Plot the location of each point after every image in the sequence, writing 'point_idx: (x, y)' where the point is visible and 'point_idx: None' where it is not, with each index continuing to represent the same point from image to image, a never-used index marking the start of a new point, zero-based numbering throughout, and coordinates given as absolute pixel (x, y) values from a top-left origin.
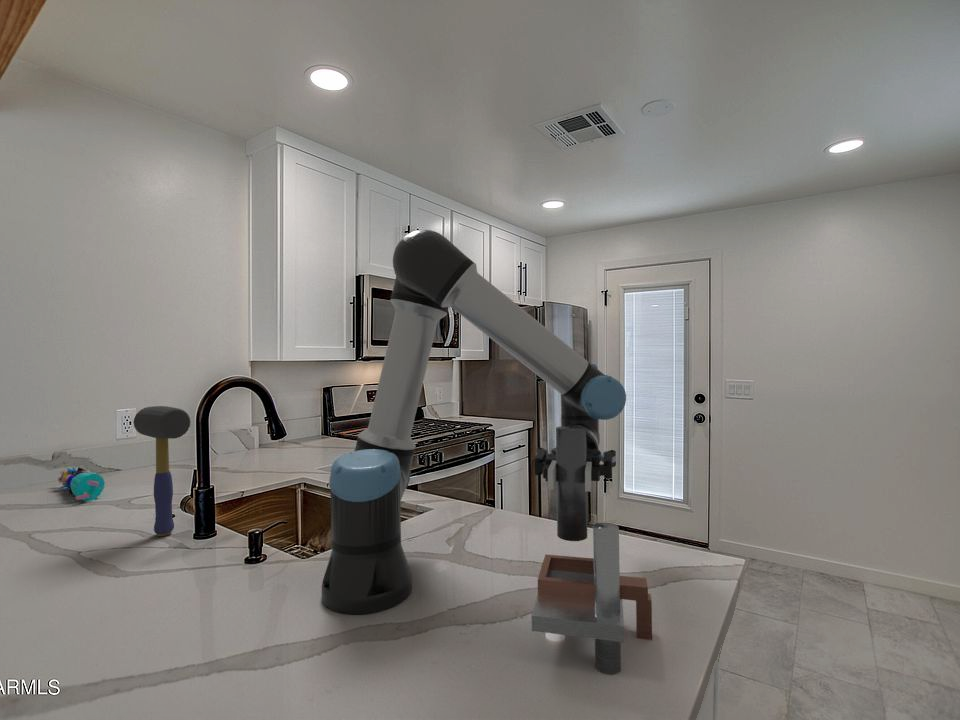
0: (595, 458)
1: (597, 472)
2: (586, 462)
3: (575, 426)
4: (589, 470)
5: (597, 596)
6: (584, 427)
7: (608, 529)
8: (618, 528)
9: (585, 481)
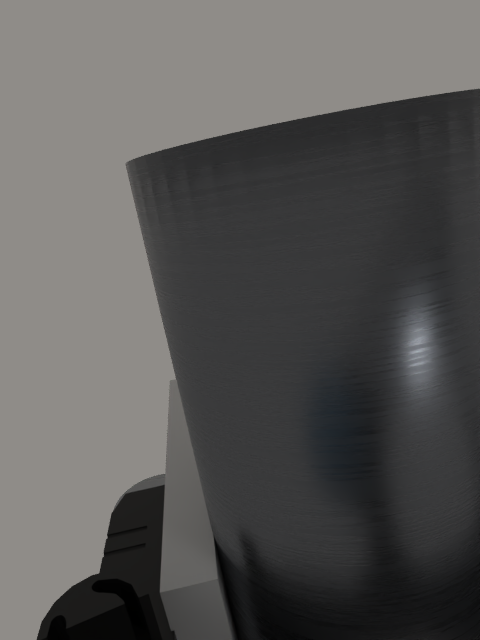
0: (104, 575)
1: (131, 501)
2: (213, 544)
3: (295, 123)
4: (175, 392)
5: None
6: (142, 156)
7: (149, 487)
8: (116, 505)
9: None
